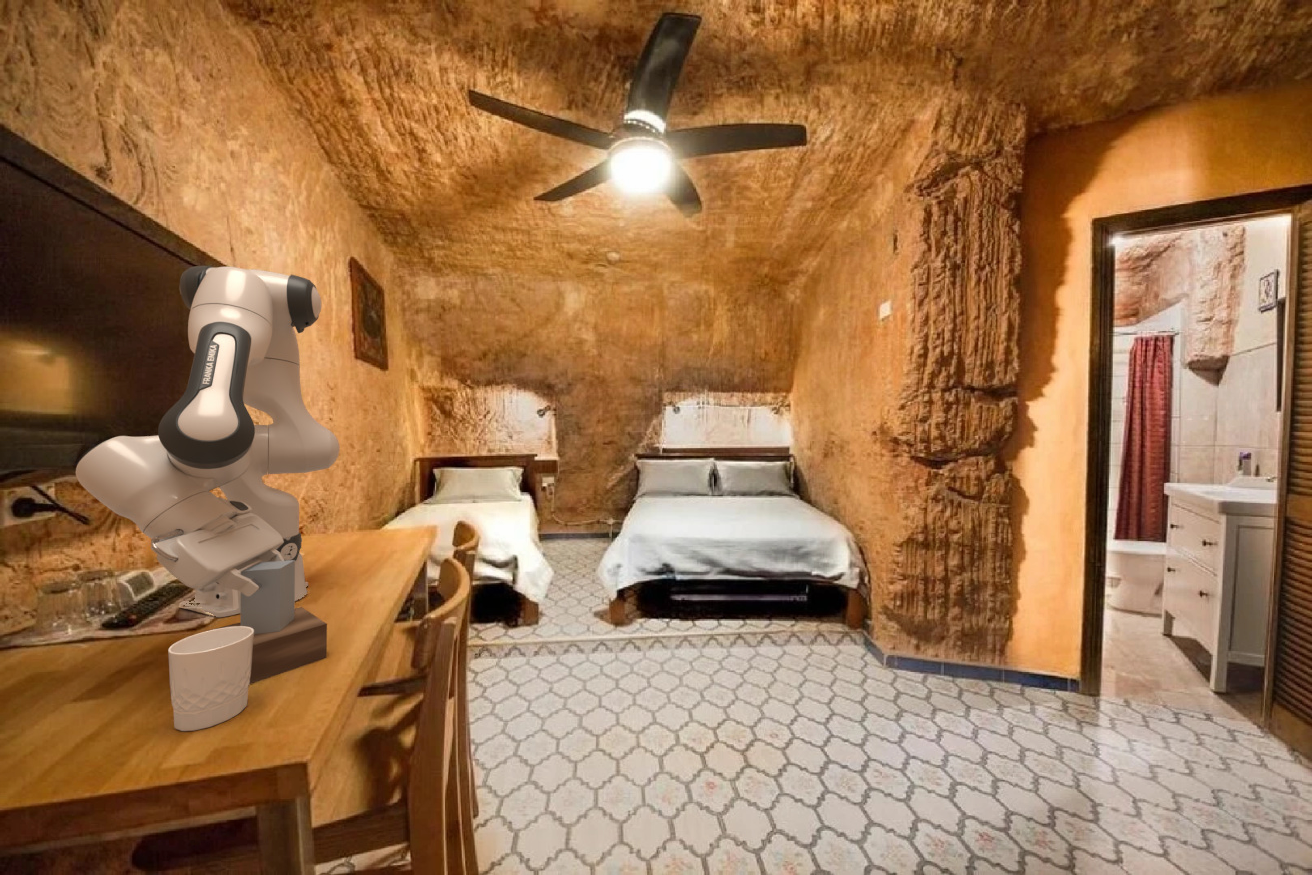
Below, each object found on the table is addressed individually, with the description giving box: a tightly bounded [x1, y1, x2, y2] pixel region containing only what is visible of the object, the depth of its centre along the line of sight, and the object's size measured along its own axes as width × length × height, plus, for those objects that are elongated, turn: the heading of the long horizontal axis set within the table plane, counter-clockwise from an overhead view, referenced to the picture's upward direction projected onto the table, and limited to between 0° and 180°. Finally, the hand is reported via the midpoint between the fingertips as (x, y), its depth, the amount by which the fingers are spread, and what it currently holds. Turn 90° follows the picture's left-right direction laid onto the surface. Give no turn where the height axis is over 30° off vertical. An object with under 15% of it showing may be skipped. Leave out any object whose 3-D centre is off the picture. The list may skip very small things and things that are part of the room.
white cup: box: [167, 626, 254, 732], centre depth 57 cm, size 8×8×10 cm
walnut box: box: [207, 606, 328, 685], centre depth 71 cm, size 12×12×6 cm
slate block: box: [239, 560, 296, 634], centre depth 70 cm, size 5×5×10 cm
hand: (272, 581), depth 71 cm, fingers open, 8 cm apart
